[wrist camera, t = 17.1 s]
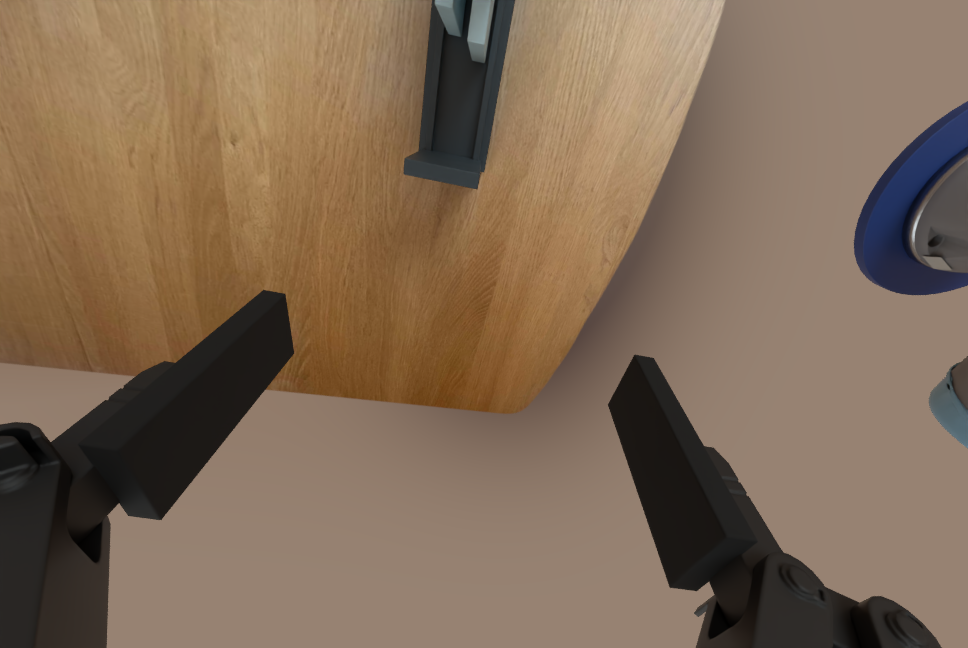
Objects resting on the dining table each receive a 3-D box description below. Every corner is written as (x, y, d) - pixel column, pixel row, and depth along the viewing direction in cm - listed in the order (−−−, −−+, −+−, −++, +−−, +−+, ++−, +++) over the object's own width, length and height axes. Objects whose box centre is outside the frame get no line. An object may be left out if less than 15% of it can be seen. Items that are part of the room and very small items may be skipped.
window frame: (533, -108, 29) (560, -234, 18) (483, 171, 39) (483, 190, 29) (447, -132, 28) (425, -278, 18) (420, 157, 39) (397, 173, 28)
